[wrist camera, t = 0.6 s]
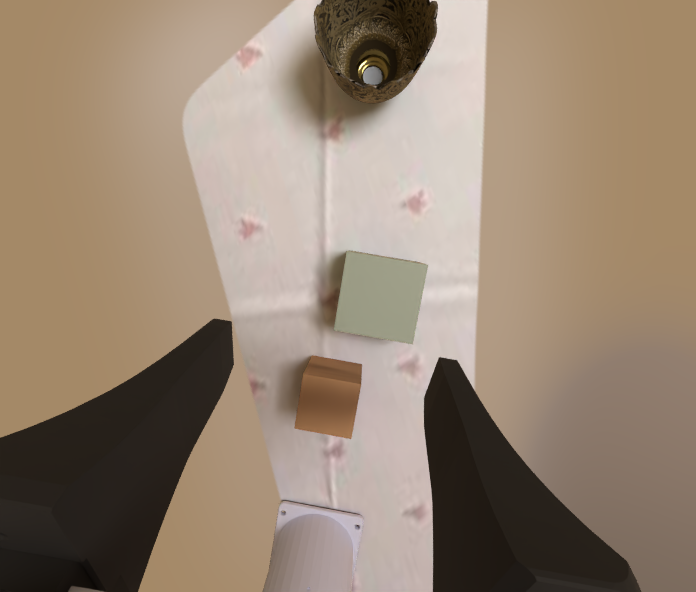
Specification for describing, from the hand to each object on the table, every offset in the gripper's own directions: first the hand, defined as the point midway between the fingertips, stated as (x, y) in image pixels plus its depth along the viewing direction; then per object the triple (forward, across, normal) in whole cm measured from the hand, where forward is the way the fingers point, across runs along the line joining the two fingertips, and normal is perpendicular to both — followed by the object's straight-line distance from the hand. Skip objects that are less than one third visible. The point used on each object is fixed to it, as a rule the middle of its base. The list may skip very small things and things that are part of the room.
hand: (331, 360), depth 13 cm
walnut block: (+14, 0, +17) cm, 22 cm away
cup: (+26, +1, -6) cm, 27 cm away
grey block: (+18, -2, +9) cm, 20 cm away
